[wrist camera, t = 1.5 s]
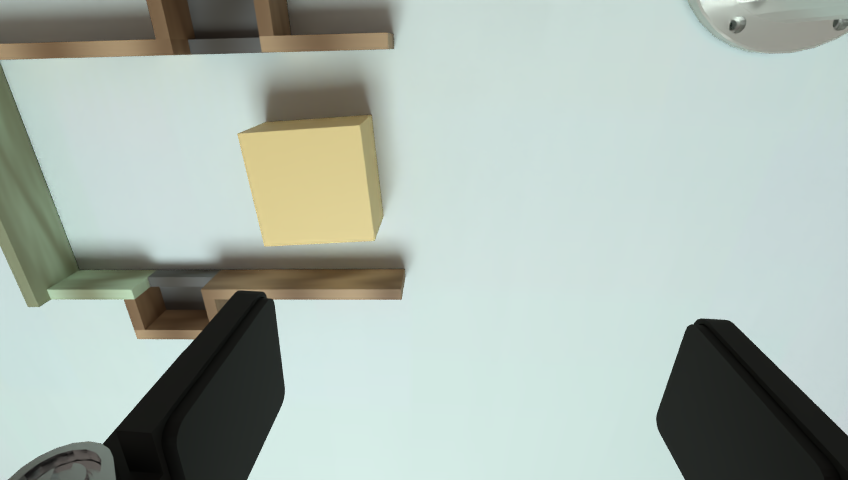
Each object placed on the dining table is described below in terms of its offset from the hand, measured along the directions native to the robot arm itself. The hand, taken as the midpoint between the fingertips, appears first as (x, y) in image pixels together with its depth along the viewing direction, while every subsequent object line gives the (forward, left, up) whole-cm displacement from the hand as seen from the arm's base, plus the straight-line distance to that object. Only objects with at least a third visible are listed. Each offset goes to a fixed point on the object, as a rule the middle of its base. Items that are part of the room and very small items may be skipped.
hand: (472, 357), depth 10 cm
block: (+9, +1, -21) cm, 23 cm away
